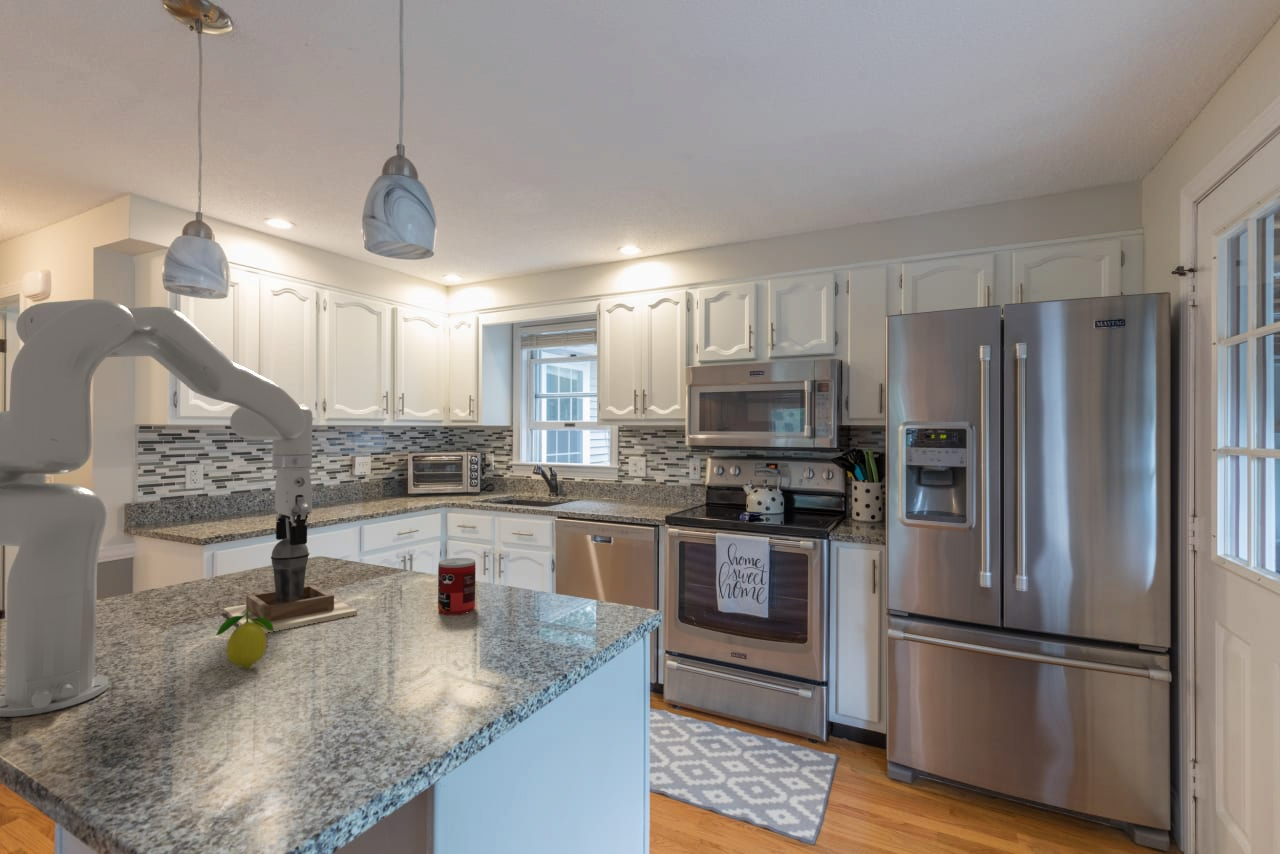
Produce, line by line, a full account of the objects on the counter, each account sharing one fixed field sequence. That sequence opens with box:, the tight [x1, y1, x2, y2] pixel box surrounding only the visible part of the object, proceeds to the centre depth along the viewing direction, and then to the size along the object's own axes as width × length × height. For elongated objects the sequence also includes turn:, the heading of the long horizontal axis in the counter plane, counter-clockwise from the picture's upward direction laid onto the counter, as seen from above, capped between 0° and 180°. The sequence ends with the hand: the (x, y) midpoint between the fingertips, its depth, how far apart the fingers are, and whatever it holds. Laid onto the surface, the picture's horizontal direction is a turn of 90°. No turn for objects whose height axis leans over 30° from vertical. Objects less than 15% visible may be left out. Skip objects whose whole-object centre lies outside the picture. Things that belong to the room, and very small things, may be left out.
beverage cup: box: [270, 518, 310, 604], centre depth 132 cm, size 7×7×20 cm
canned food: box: [437, 557, 477, 615], centre depth 135 cm, size 8×8×11 cm
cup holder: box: [222, 584, 358, 634], centre depth 132 cm, size 22×20×4 cm
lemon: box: [216, 608, 274, 670], centre depth 101 cm, size 7×6×10 cm
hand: (291, 541), depth 132 cm, fingers open, 9 cm apart
